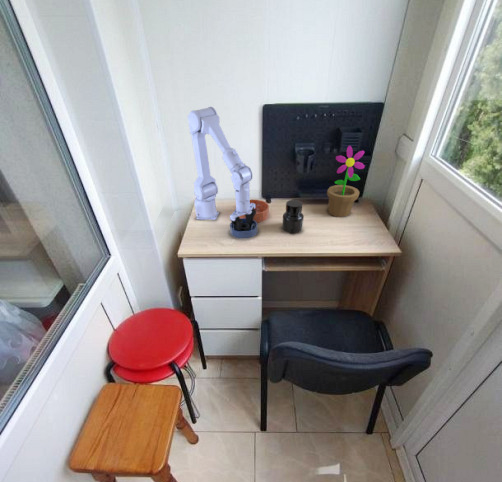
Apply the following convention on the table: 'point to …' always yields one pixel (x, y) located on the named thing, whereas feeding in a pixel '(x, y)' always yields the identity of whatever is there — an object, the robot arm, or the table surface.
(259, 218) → the bowl
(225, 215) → the table surface
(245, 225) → the ring
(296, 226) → the ink bottle
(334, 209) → the flowerpot
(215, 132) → the robot arm
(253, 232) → the blue round dish
